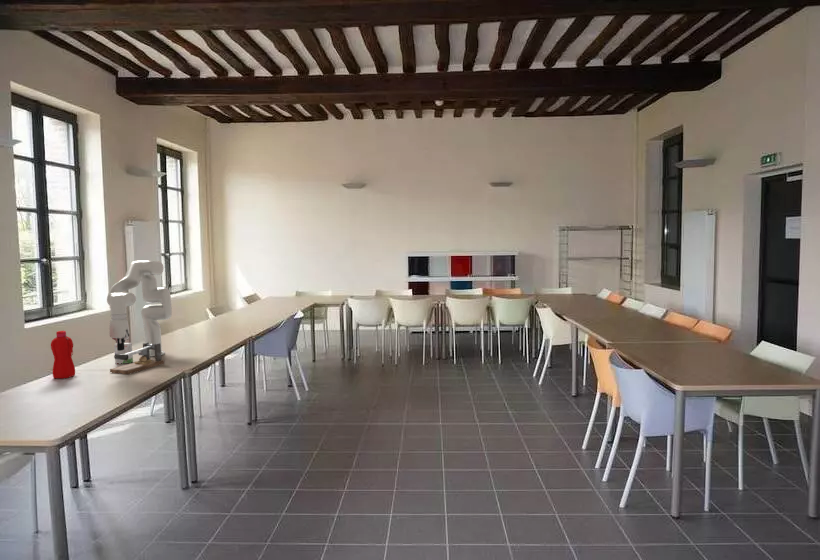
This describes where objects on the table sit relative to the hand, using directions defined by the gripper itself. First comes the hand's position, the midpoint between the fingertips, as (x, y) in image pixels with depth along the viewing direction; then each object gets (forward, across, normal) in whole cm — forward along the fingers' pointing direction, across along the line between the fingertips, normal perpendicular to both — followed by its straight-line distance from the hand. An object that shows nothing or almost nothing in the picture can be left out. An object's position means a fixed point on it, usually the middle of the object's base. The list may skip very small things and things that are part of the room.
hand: (121, 350), depth 309 cm
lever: (+6, 0, +11) cm, 13 cm away
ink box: (+13, -18, +19) cm, 29 cm away
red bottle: (+13, -22, -16) cm, 30 cm away
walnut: (+9, 0, +15) cm, 17 cm away
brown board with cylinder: (+13, 0, +11) cm, 17 cm away
